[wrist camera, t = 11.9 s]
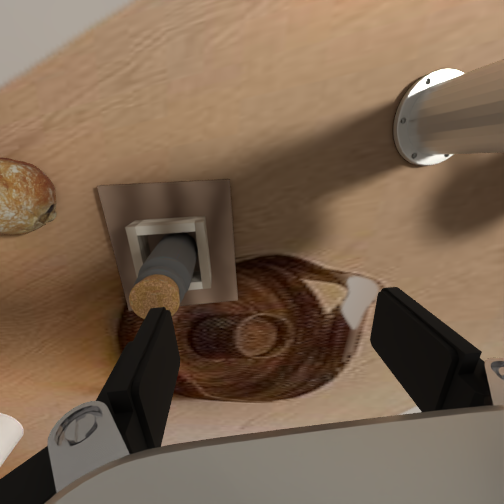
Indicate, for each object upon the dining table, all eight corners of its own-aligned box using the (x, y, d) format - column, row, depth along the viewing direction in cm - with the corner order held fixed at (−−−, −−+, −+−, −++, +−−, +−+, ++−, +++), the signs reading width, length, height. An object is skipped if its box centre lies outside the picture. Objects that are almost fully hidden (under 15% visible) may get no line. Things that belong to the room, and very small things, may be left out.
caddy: (229, 179, 36) (230, 181, 31) (237, 296, 43) (239, 313, 38) (100, 185, 34) (81, 189, 29) (131, 306, 41) (119, 326, 36)
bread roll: (53, 228, 39) (47, 252, 33) (-45, 210, 32) (-75, 236, 26) (66, 169, 36) (62, 183, 30) (-38, 136, 29) (-69, 146, 24)
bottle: (155, 261, 37) (118, 320, 24) (163, 226, 36) (127, 267, 22) (193, 270, 39) (178, 330, 25) (202, 236, 37) (191, 281, 23)
